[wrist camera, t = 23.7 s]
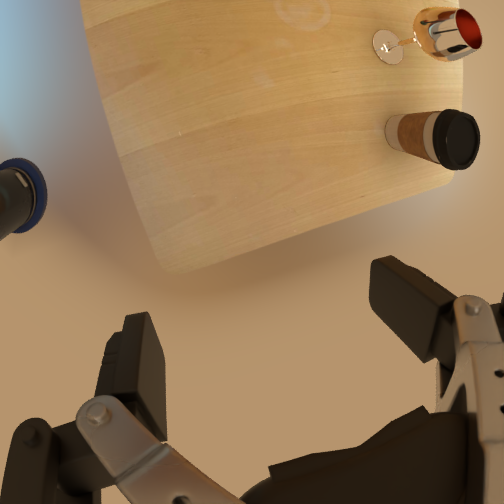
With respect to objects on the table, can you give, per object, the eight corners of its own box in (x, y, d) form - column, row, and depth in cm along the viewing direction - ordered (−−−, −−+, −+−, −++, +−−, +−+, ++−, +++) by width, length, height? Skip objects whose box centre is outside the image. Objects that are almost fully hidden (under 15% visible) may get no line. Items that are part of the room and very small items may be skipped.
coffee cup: (422, 124, 44) (488, 132, 30) (406, 165, 46) (471, 184, 33) (388, 98, 41) (457, 96, 28) (371, 142, 43) (438, 153, 30)
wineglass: (360, 27, 36) (438, -3, 20) (396, 23, 36) (473, 2, 20) (378, 72, 39) (462, 60, 23) (412, 66, 40) (493, 58, 23)
